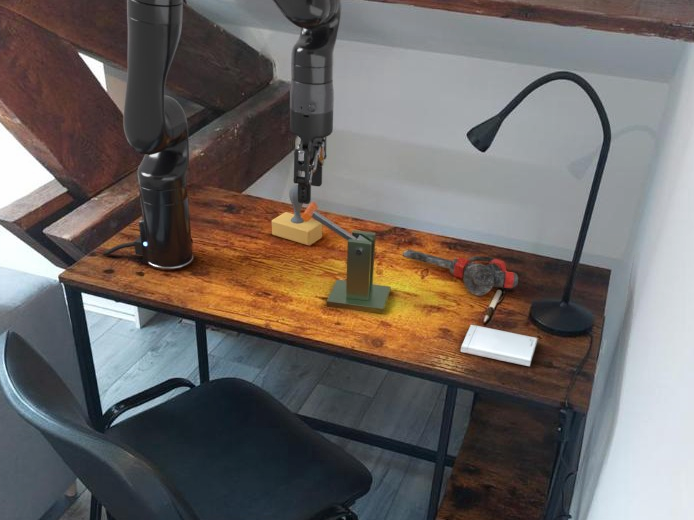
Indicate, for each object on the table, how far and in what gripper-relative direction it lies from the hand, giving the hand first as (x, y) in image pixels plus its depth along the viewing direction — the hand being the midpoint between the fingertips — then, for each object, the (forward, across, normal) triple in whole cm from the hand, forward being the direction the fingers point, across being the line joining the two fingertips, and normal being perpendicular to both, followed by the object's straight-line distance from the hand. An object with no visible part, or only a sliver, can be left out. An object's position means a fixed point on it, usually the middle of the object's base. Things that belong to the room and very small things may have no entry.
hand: (310, 193), depth 148 cm
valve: (+20, -17, +29) cm, 40 cm away
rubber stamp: (+21, -24, -9) cm, 33 cm away
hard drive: (+20, +11, +38) cm, 45 cm away
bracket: (+20, 0, +10) cm, 23 cm away
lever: (+7, 0, +5) cm, 9 cm away
